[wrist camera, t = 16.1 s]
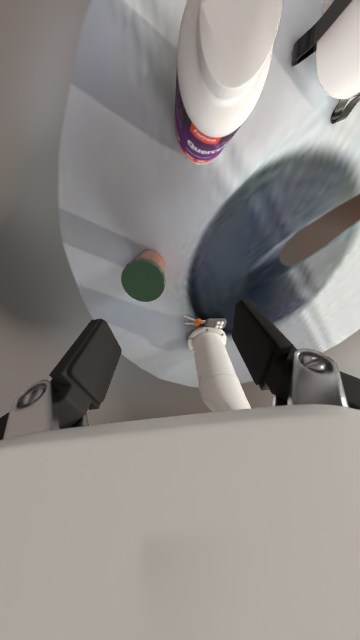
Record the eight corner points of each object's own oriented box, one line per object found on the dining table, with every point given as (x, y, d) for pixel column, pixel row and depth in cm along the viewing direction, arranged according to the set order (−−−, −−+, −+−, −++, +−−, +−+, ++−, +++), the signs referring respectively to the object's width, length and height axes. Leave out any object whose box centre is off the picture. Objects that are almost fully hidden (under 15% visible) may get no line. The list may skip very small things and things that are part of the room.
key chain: (226, 317, 42) (227, 320, 41) (222, 326, 44) (224, 329, 43) (182, 314, 41) (183, 317, 39) (181, 324, 43) (181, 327, 42)
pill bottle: (179, 171, 24) (187, 128, 12) (168, 86, 19) (165, -123, 7) (228, 160, 23) (286, 103, 11) (230, 70, 18) (332, -184, 7)
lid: (117, 260, 22) (114, 263, 21) (161, 255, 22) (160, 257, 21) (131, 299, 26) (129, 304, 25) (168, 295, 26) (167, 299, 25)
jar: (166, 275, 34) (165, 295, 25) (141, 279, 34) (132, 299, 25) (161, 247, 30) (158, 259, 22) (134, 251, 30) (119, 265, 22)
